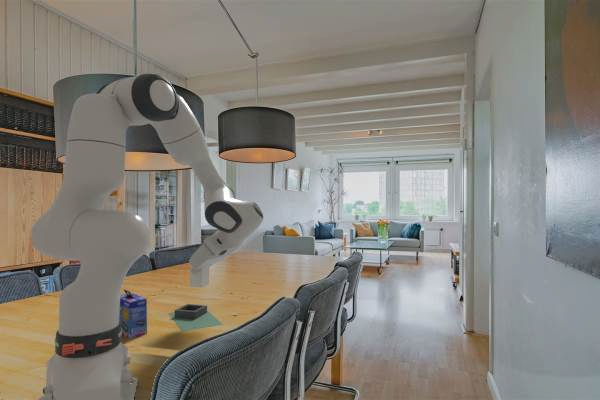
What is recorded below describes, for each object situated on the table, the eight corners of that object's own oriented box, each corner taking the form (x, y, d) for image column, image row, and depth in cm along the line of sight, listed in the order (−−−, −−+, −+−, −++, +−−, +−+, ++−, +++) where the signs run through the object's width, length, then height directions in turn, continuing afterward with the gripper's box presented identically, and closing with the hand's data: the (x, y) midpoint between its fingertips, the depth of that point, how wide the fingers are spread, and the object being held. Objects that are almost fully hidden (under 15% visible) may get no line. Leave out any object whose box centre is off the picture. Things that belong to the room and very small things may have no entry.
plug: (209, 284, 117) (209, 257, 117) (202, 287, 113) (202, 259, 113) (197, 283, 118) (197, 257, 118) (189, 286, 114) (190, 259, 114)
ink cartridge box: (114, 335, 107) (115, 288, 107) (132, 331, 111) (133, 285, 111) (129, 344, 100) (130, 293, 101) (147, 338, 105) (148, 290, 105)
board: (222, 329, 113) (223, 316, 113) (181, 336, 107) (182, 323, 107) (204, 311, 131) (204, 301, 131) (168, 317, 125) (168, 306, 125)
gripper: (232, 232, 124) (207, 259, 126) (203, 237, 104) (174, 268, 107) (244, 245, 123) (218, 272, 125) (216, 253, 103) (187, 284, 105)
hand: (197, 270), depth 116 cm, fingers closed on plug, 4 cm apart
